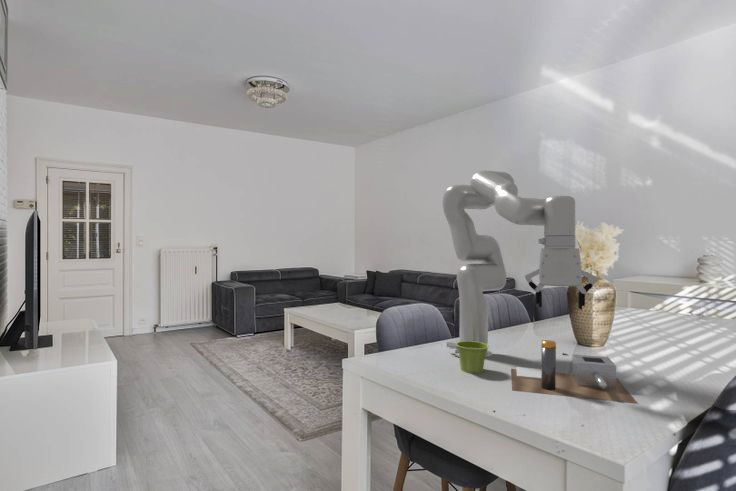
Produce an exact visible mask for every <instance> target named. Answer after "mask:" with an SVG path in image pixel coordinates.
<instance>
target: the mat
mask: <svg viewBox="0 0 736 491" xmlns="http://www.w3.org/2000/svg"><path fill="white" fill-rule="evenodd" d="M515 369H516V372H517V378H528V379H538V380H541V368H533V367H532V368H531V367H523V366H522V367H521V366H516V367H515Z"/></svg>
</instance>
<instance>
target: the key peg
mask: <svg viewBox="0 0 736 491" xmlns="http://www.w3.org/2000/svg"><path fill="white" fill-rule="evenodd" d="M556 355H557V342H556V341H555V340H549V339H545V340H544V339H543V340H541V362H540V363H541V368H540V369H541V387H542V388H543V389H546V390H555V389H556V373H557V372H556V371H557V370H556V369H557V365H556V364H557V362H556V361H557V359H556V358H557V356H556Z"/></svg>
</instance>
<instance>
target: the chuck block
mask: <svg viewBox="0 0 736 491" xmlns="http://www.w3.org/2000/svg"><path fill="white" fill-rule="evenodd" d="M571 370H572V372H571V374H572V376H573V378H574V380H575V382H576V384H577V385H578V386H588V387H598V388H602V389H605V388H608V389H616V378H617V365H616V364H615V363H614V362H613V361H612V360H611V359H610V358H609V357H608V356H598V355H585V354H572V369H571Z"/></svg>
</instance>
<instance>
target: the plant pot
mask: <svg viewBox="0 0 736 491" xmlns="http://www.w3.org/2000/svg"><path fill="white" fill-rule="evenodd" d="M456 342H457V343H456ZM456 342H455V343H456V346H457V347H458V351H459V357H458V358H459V364H460V371H462V372H464V373H470V374H481V373H483V371H484V366H485V360H486V357H485V354H486V352H487V348H488V349H489V344H488V345H487V344H485V343H481V342H475V341H461V342H459V341H456Z"/></svg>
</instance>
